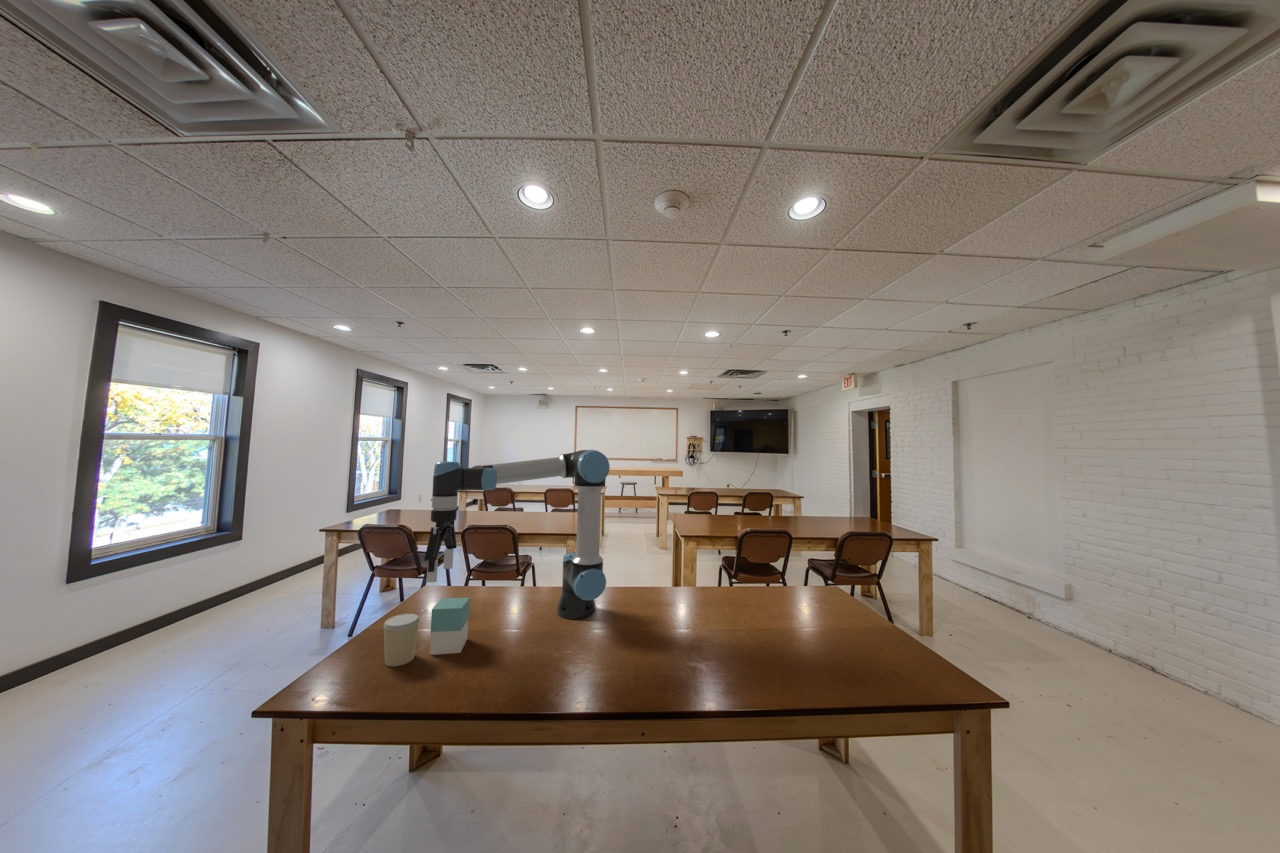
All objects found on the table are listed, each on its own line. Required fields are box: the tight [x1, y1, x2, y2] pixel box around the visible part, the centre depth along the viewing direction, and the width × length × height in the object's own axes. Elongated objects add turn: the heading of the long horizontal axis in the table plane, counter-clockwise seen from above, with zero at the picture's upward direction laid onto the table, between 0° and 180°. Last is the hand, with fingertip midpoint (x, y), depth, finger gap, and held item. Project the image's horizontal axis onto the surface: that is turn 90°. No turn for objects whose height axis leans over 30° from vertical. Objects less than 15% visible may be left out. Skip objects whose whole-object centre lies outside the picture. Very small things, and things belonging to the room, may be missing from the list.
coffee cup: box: [383, 613, 420, 667], centre depth 121 cm, size 9×9×12 cm
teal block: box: [430, 597, 471, 633], centre depth 130 cm, size 9×9×7 cm
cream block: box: [429, 620, 469, 656], centre depth 129 cm, size 9×9×7 cm
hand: (440, 574), depth 128 cm, fingers open, 13 cm apart
